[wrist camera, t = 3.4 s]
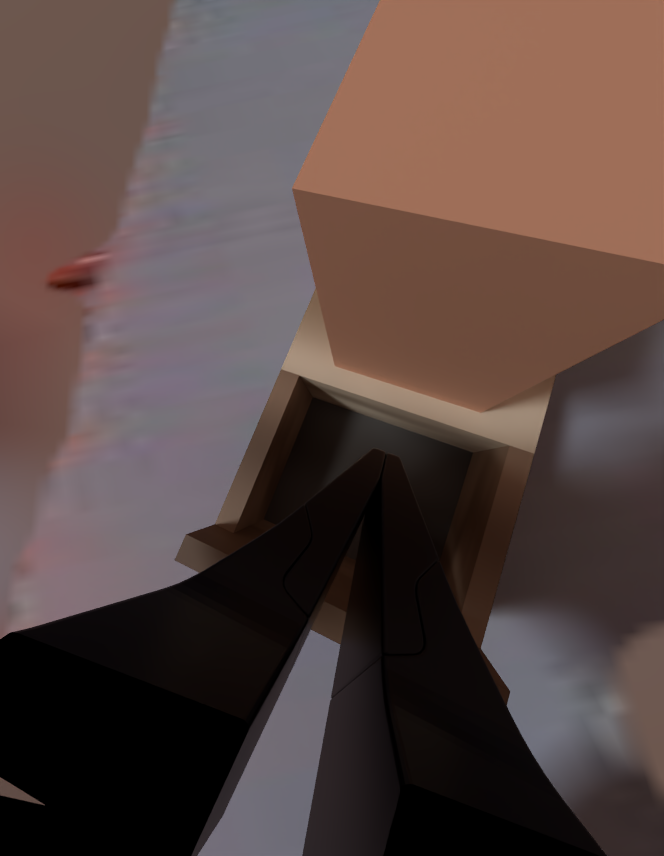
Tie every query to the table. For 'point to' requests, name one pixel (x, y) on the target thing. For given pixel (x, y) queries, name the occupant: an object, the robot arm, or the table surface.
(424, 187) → the terracotta block
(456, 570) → the track
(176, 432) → the table surface
